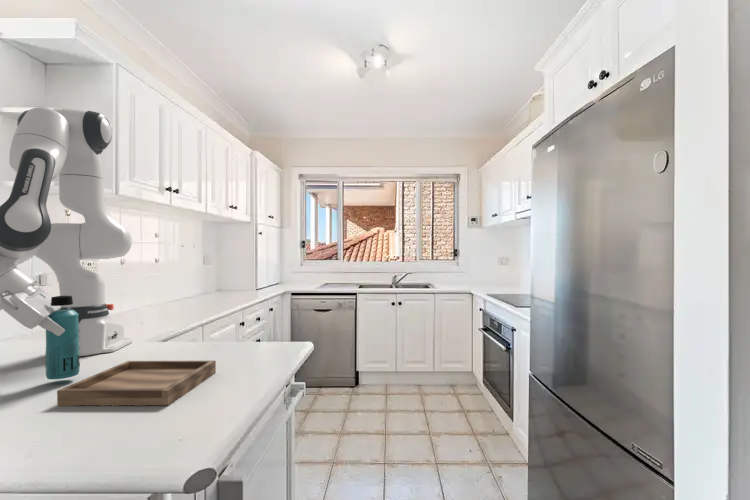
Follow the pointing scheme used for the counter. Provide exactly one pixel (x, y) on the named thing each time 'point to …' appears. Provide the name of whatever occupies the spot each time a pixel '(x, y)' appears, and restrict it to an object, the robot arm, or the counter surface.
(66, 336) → the beverage bottle
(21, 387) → the counter surface
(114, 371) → the walnut tray
